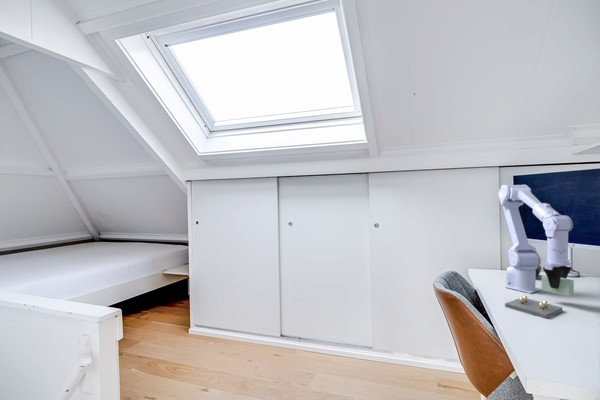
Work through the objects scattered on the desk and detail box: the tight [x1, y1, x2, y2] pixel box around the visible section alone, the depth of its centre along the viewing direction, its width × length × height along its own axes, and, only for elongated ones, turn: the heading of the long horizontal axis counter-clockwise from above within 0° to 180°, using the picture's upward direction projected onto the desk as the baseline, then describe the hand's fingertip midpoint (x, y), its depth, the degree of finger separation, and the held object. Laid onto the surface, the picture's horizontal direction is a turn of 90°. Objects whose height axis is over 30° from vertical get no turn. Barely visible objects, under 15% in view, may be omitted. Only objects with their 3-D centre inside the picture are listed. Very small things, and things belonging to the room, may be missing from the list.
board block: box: [540, 274, 575, 297], centre depth 111 cm, size 8×4×5 cm, turn 30°
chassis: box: [504, 295, 563, 319], centre depth 106 cm, size 12×12×3 cm
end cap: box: [535, 265, 542, 278], centre depth 146 cm, size 10×7×7 cm
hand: (557, 287), depth 111 cm, fingers closed on board block, 4 cm apart
